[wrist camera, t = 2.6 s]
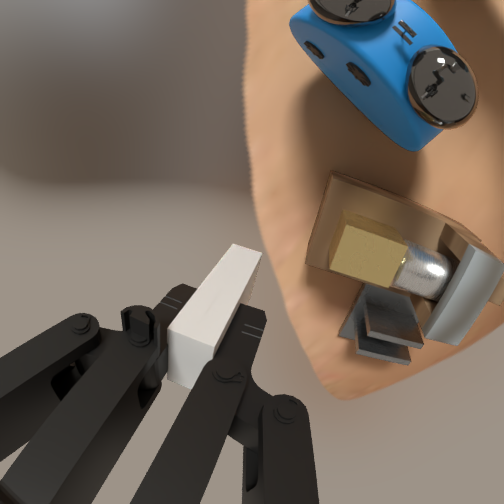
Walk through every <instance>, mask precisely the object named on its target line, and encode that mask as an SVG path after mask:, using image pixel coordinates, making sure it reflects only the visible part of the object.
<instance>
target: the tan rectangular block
mask: <svg viewBox="0 0 504 504" xmlns="http://www.w3.org/2000/svg"><path fill="white" fill-rule="evenodd" d="M407 248H408V246H407V244H406V243H405V241H404V240H403V238H402V237H401V235H400V234H399V232H398V231H397V230H396V228H394V227H391V226H388V225H386V224H383V223H380V222H378V221H375V220H372V219H369V218H366V217H364V216H361V215H358V214H355V213H352V212H349V211H346V210H343V209H342V212H341V215H340V218H339V221H338V224H337V227H336V229H335V232H334V235H333V238H332V241H331V243H330V246H329V269H331V270H334V271H337V272H340V273H343V274H346V275H349V276H353V277H356V278H359V279H362V280H365V281H368V282H371V283H374V284H377V285H381V286H384V287H387V288H389V286H390V284H391V282H392V280H393V278H394V276H395V274H396V272H397V270H398V268H399V266H400V264H401V261H402V259H403V257H404V255H405V253H406V251H407Z"/></svg>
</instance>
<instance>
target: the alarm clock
mask: <svg viewBox="0 0 504 504" xmlns="http://www.w3.org/2000/svg"><path fill="white" fill-rule="evenodd" d="M308 3H309V4H308V5H307V6H305V7H304V8H303V9H301V10H300V11H299V12H297V13H296V14H295V15H293V16H292V18H291V19H290V22H289V26H290V29H291V32H292V34H293V36H294V37H295V39H296V41H297V42H298V43H299V45H300V46H301V47H302V49H303V50H304V51H305V52H306V54H307V55H308V56H309V57H310V58H311V59H312V61H313V62H314V63H315V64H316V65H317V66H318V67H319V68H320V70H321V71H322V72H323V73H324V74H325V75H326V76H327V77H328V78H329V79H330V80H331V81H332V82H333V83H334V85H335V86H336V87H337V88H338V89H339V90H340V91H341V92H342V93H343V94H344V95H345V96H346V97H347V98H348V99H349V100H350V101H351V102H352V103H353V104H354V105H355V106H356V107H357V108H358V109H359V110H360V111H361V112H362V113H363V114H364V115H365V116H366V117H367V118H368V119H369V120H370V121H371V122H372V123H373V124H374V125H375V126H376V127H377V128H379V129H380V130H381V131H382V132H383V133H384V134H385V135H386V136H388V137H389V138H390V139H391V140H392V141H394V142H395V143H396V144H398V145H399V146H401V147H402V148H404V149H406V150H409V151H419V150H420V149H422V148H423V147H424V146H425V145H426V144H428V143H429V142H430V141H431V140H432V139H433V138H434V137H436V136H437V135H438V134H439V133H440V132H441V131H442V130H444V129H445V130H451V129H456V128H458V127H461V126H463V125H464V124H466V123H467V122H468V121H469V120H470V119H471V117H472V116H473V114H474V113H475V111H476V108H477V105H478V99H479V90H478V84H477V80H476V77H475V74H474V72H473V70H472V68H471V67H470V65H469V64H468V63H467V61H466V60H465V59H464V58H463V57H462V56H461V55H460V54H458V53H457V51H456V49H455V48H454V46H453V44H452V43H451V41H450V40H449V38H448V37H447V35H446V34H445V33H444V31H443V30H442V29H441V28H440V27H439V25H438V24H437V23H436V22H435V21H434V20H433V19H432V18H431V17H430V16H429V15H428V14H427V13H426V12H425V11H424V10H423V9H422V8H420V7H419V6H418V5H417V4H415V3H414V2H413V1H411V0H308Z"/></svg>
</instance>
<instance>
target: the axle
mask: <svg viewBox="0 0 504 504" xmlns="http://www.w3.org/2000/svg"><path fill="white" fill-rule="evenodd" d="M403 240H404V241H405V243H406V244H407V246H408V248H407V251H406V253H405V255H404V257H403V259H402V261H401V264H400V266H399V268H398V270H397V272H396V274H395V276H394V278H393V280H392V282H391V284H390V286H391V287H394V288H397V289H400V290H403V291H406V292H409V293H412V294H416V295H419V296H422V297H425V298H428V299H431V300H434V301H437V302H439V300H440V299H441V297H442V295H443V294H444V292H445V290H446V288H447V286H448V285H449V283H450V281H451V279H452V277H453V275H454V273H455V272H456V270H457V268H458V266H459V264H460V262H459V261H457V260H455V259H452V258H450V257H448V256H445V255H443V254H441V253H438V252H436V251H433V250H431V249H428V248H426V247H424V246H421V245H419V244H416V243H414V242H411V241H408V240H406V239H403Z"/></svg>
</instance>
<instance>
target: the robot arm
mask: <svg viewBox="0 0 504 504" xmlns="http://www.w3.org/2000/svg"><path fill="white" fill-rule="evenodd" d="M261 256H262V253H261V252H257V251H254V250H251V249H248V248H244V247H242V246H238V245H235V244H232V246H231V247H230V248H229V250H228V251H227V252H226V253H225V255H224V256H223V257H222V258H221V260H220V261H219V262H218V264H217V265H216V266H215V267H214V269H213V270H212V271H211V272H210V274H209V275H208V276H207V277H206V279H205V280H204V281H203V283H202V284H201V285H200V287H199V288H198V289H196V288H193V287H190V286H188V285H185V284H180V285H178V286H176V287H174V288H172V289H171V290H170V291H169V293H168V294H167V295H166V297H164V298H163V299H162V300H161V302H160V303H159V304H158V305H157V306H156V307H155V308H154V309H153V310H152V309H151V308H149V307H146V306H142V305H138V306H137V305H134V306H130V307H126V308H125V309H123V310H122V311H121V319H122V326H123V331H115V330H110V329H106V328H101V327H99V322H98V321H97V319H96V318H95V317H94V316H92V315H90V314H86V313H79V314H75V315H73V316H70V317H69V318H67V319H65V320H63V321H61V322H60V323H58V324H57V325H55V326H53V327H51V328H49V329H48V330H46V331H44V332H43V333H41V334H39V335H38V336H36V337H34V338H33V339H31V340H29V341H27V342H26V343H24V344H22V345H21V346H19V347H17V348H16V349H14V350H13V351H11V352H9V353H8V354H6V355H4V356H3V357H1V358H0V462H1V461H2V460H3V459H5V458H6V457H7V456H9V455H10V454H12V453H13V452H15V451H16V450H17V449H18V448H20V447H21V446H23V445H24V444H25V443H27V442H28V441H29V442H28V444H27V445H26V447H25V448H24V449H23V450H22V452H21V453H20V455H19V456H18V457H17V459H16V460H15V461H14V463H13V464H12V465H11V467H10V468H9V470H8V471H7V472H6V474H5V475H4V477H3V478H2V479H1V481H0V504H91V503H92V502H93V500H94V498H95V497H96V495H97V493H98V492H99V490H100V488H101V487H102V485H103V483H104V482H105V480H106V478H107V477H108V475H109V473H110V472H111V470H112V468H113V467H114V465H115V464H116V462H117V460H118V459H119V457H120V455H121V453H122V452H123V450H124V449H125V447H126V445H127V444H128V442H129V441H130V439H131V437H132V436H133V434H134V432H135V431H136V429H137V428H138V426H139V424H140V423H141V421H142V419H143V418H144V416H145V414H146V413H147V411H148V410H149V408H150V406H151V405H152V403H153V401H154V400H155V398H156V397H157V395H158V393H159V392H160V389H161V386H162V382H161V380H162V379H163V377H164V376H165V374H166V373H167V379H168V380H170V381H172V382H174V383H177V384H179V385H181V386H184V387H186V388H189V389H191V392H190V393H189V395H188V397H187V399H186V401H185V403H184V405H183V407H182V408H181V410H180V412H179V414H178V416H177V418H176V420H175V422H174V423H173V425H172V427H171V429H170V431H169V433H168V435H167V437H166V438H165V440H164V442H163V444H162V446H161V448H160V449H159V451H158V453H157V455H156V457H155V459H154V461H153V462H152V465H151V466H150V468H149V470H148V472H147V473H146V475H145V477H144V479H143V481H142V483H141V484H140V486H139V488H138V490H137V492H136V493H135V495H134V497H133V499H132V501H131V502H130V504H200V502H201V499H202V497H203V494H204V492H205V490H206V487H207V485H208V482H209V480H210V478H211V475H212V473H213V470H214V468H215V465H216V462H217V460H218V457H219V455H220V452H221V450H222V447H223V445H224V442H225V439H226V437H227V435H229V436H230V437H232V438H233V439H235V440H236V441H238V442H239V443H241V444H242V445H244V447H243V451H244V452H243V484H242V485H243V487H242V504H319V498H318V488H317V479H316V470H315V462H314V454H313V445H312V438H311V430H310V422H309V415H308V412H307V409H306V406H304V404H303V403H302V402H301V401H300V400H299V399H296V398H295V397H293V396H289V395H285V394H283V395H275V396H271V395H270V394H268V393H267V392H265V391H263V390H262V389H261V388H260V387H258V386H257V384H256V383H255V382H254V380H253V378H252V375H251V367H252V364H253V361H254V358H255V355H256V352H257V349H258V346H259V343H260V340H261V337H262V334H263V331H264V328H265V325H266V322H267V319H266V315H265V311H263V310H260V309H257V308H254V307H251V306H248V305H247V304H248V302H249V300H250V296H251V293H252V290H253V285H254V282H255V279H256V275H257V271H258V268H259V264H260V260H261Z"/></svg>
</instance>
